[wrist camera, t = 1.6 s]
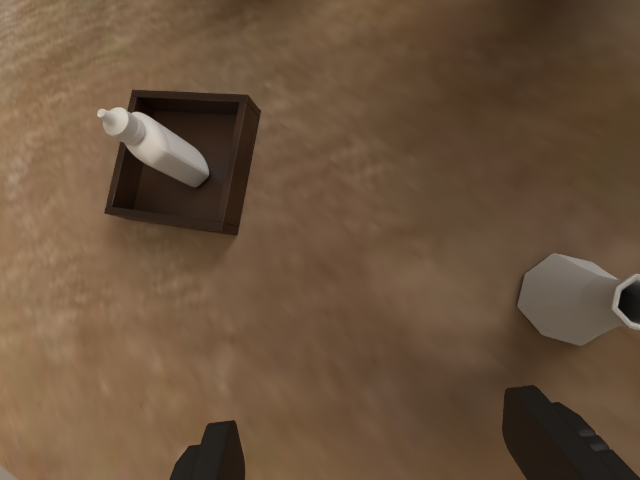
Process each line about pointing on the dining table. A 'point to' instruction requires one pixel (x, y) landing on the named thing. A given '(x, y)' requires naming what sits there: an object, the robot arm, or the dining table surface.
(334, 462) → the dining table surface
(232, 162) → the tray
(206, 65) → the dining table surface
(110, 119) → the eye dropper bottle
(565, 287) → the flask
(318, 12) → the dining table surface
